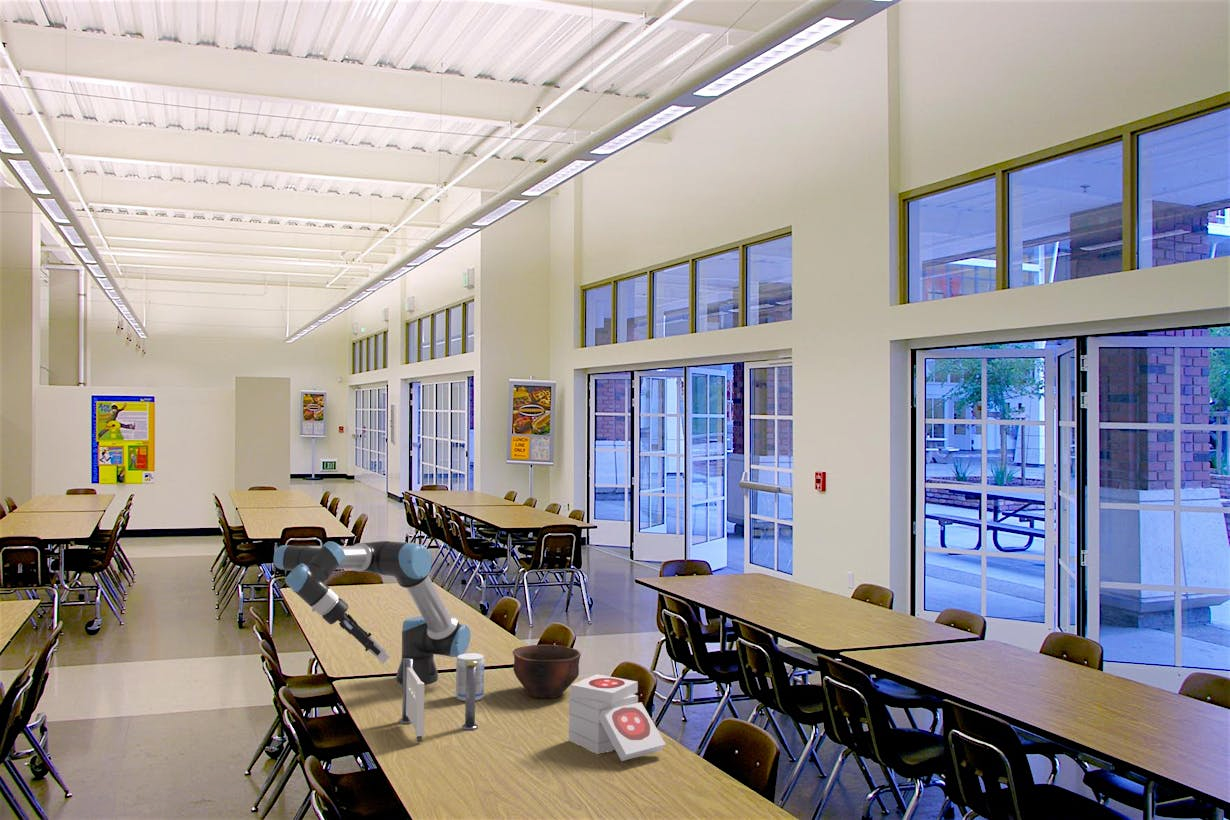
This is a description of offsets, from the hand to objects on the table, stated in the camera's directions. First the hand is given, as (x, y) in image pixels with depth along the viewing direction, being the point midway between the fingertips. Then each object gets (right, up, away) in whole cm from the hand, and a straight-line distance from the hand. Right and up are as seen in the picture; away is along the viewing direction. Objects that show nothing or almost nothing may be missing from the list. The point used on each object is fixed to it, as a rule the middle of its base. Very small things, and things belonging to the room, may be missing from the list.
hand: (384, 656), depth 290 cm
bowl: (+46, -26, +50) cm, 72 cm away
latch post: (+24, -25, +11) cm, 37 cm away
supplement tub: (+20, -26, +42) cm, 53 cm away
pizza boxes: (+70, -26, -5) cm, 75 cm away
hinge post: (+3, -25, +15) cm, 29 cm away
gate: (+8, -24, +4) cm, 26 cm away
